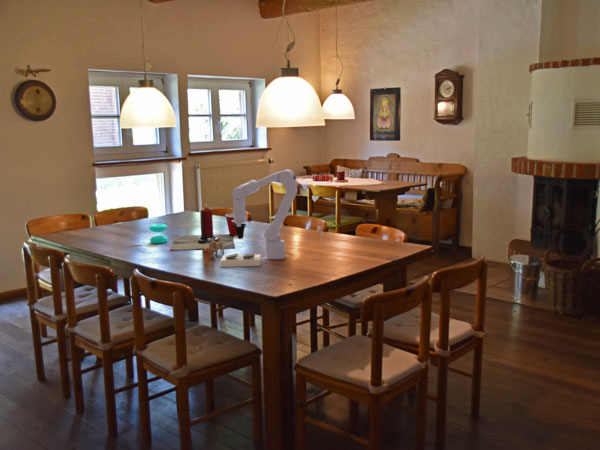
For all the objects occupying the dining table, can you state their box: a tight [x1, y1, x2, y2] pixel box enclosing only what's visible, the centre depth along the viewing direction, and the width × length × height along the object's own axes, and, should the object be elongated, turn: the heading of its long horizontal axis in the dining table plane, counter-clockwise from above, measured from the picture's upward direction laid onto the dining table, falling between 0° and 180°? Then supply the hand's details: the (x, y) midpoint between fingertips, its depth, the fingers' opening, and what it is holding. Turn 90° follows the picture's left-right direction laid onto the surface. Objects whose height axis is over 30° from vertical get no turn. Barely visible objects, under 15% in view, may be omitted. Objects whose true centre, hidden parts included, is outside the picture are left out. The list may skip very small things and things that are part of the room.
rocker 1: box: [226, 253, 238, 259], centre depth 266 cm, size 5×4×2 cm
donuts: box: [149, 223, 169, 245], centre depth 321 cm, size 10×10×10 cm
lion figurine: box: [208, 240, 225, 259], centre depth 285 cm, size 15×5×9 cm, turn 174°
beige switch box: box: [220, 253, 262, 268], centre depth 269 cm, size 18×11×3 cm, turn 91°
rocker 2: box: [243, 252, 255, 259], centre depth 266 cm, size 5×4×2 cm
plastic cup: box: [224, 213, 238, 236], centre depth 341 cm, size 11×11×12 cm
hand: (240, 238), depth 280 cm, fingers closed
